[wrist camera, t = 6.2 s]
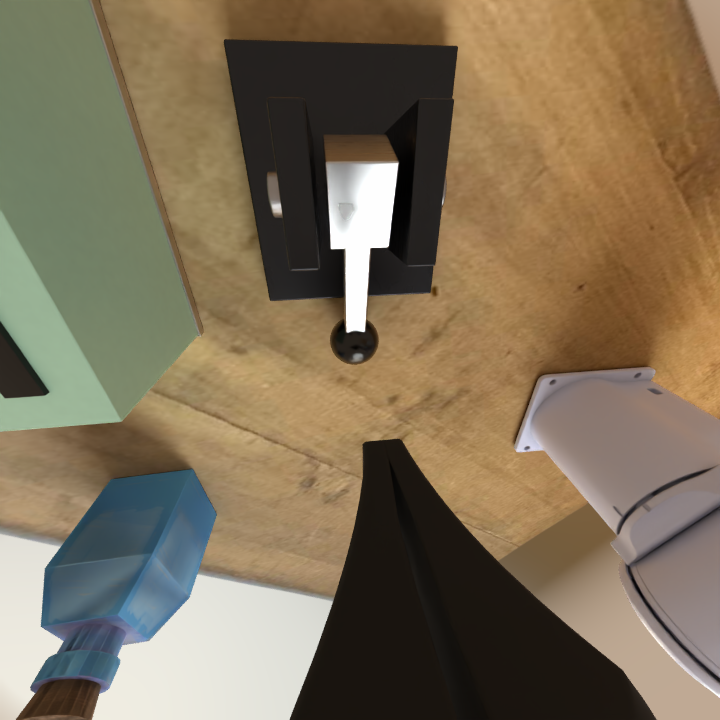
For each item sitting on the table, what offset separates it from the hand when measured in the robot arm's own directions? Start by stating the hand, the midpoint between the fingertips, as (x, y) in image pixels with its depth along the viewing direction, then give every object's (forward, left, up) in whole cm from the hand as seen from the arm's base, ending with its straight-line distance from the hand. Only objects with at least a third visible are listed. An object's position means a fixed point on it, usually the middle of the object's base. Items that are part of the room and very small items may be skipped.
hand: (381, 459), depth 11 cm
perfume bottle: (+16, +14, -10) cm, 23 cm away
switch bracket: (0, -8, -10) cm, 13 cm away
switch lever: (0, -5, -7) cm, 9 cm away
